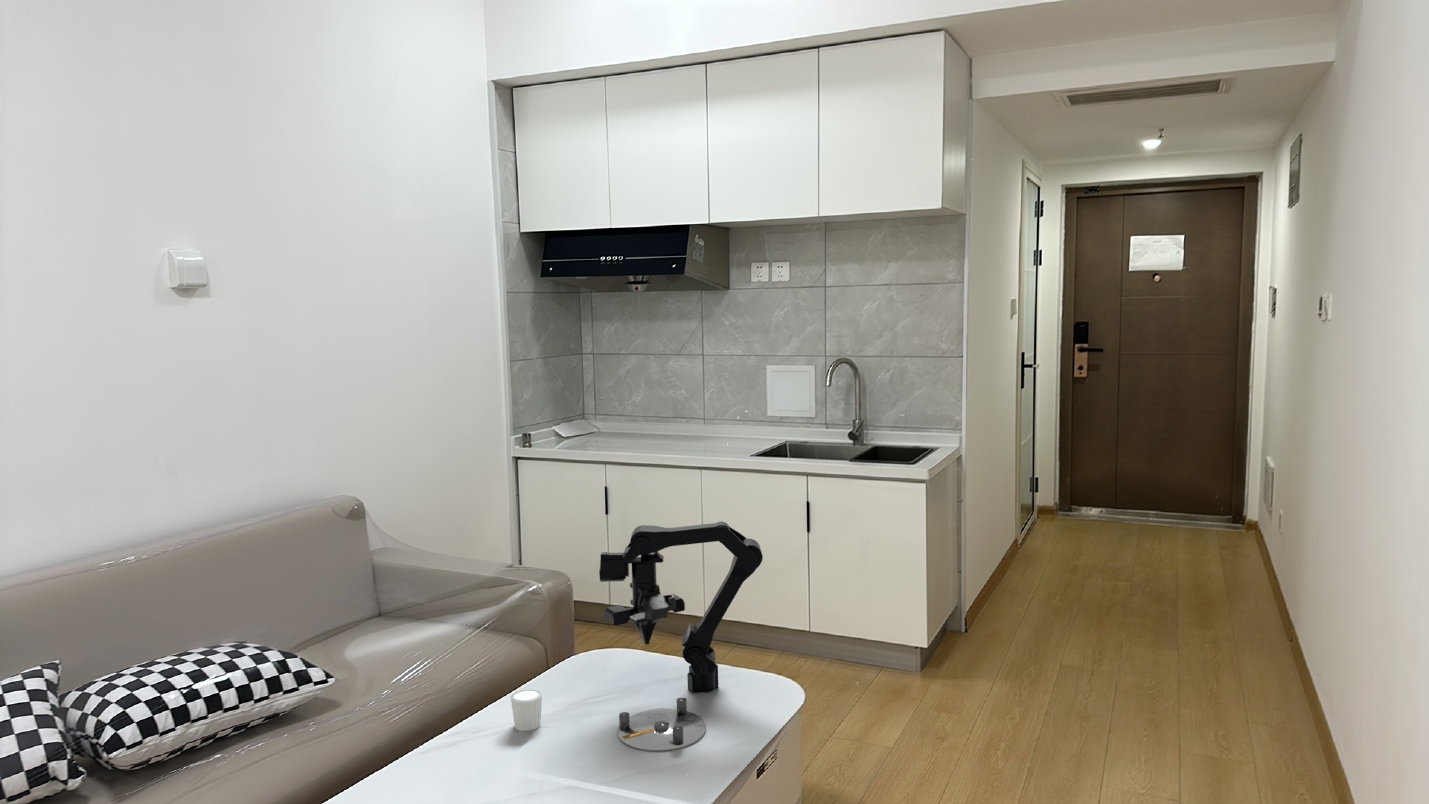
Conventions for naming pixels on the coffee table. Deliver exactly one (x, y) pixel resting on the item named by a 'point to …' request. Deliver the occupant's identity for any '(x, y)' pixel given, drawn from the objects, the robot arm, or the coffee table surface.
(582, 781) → the coffee table surface
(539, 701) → the shot glass
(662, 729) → the capstan dial
